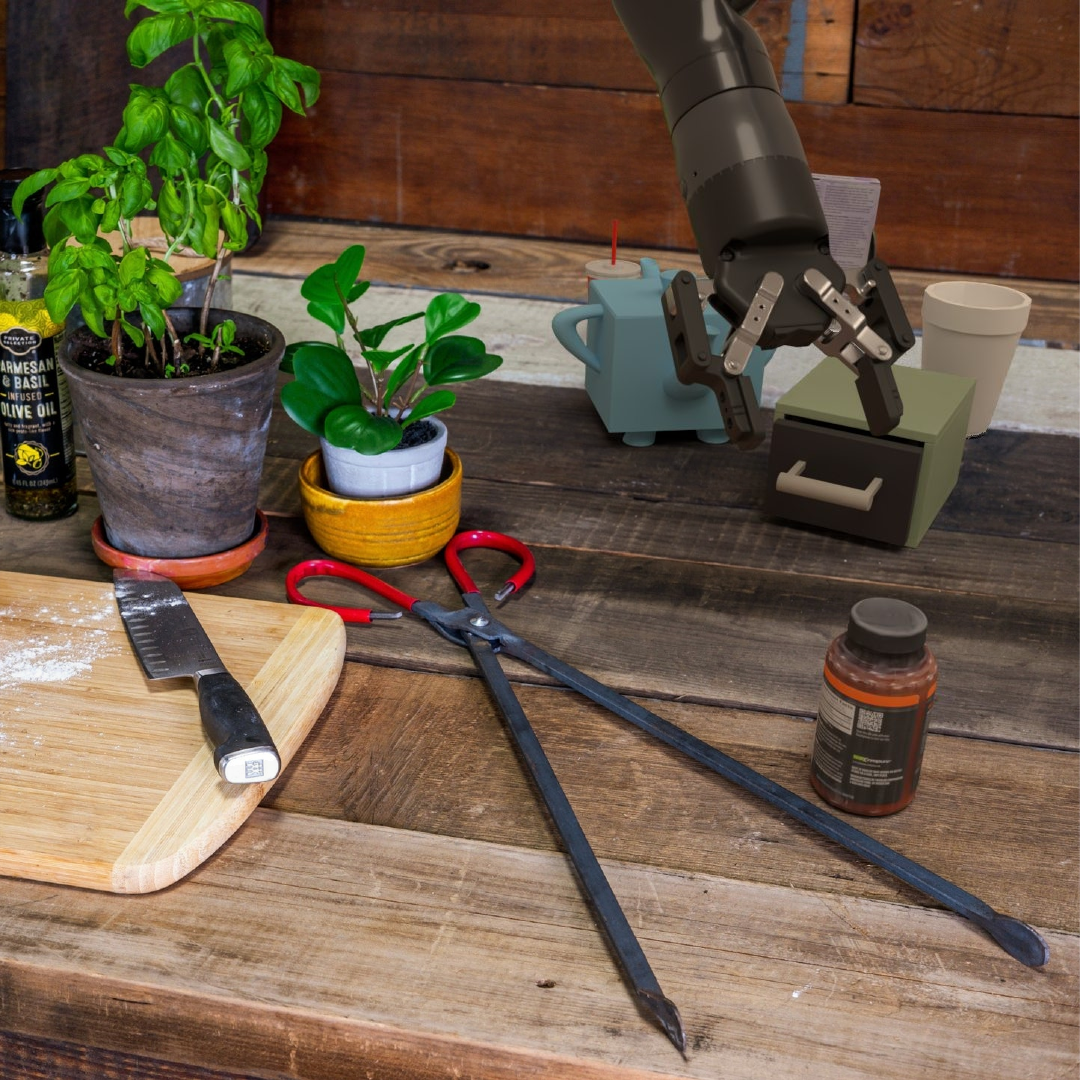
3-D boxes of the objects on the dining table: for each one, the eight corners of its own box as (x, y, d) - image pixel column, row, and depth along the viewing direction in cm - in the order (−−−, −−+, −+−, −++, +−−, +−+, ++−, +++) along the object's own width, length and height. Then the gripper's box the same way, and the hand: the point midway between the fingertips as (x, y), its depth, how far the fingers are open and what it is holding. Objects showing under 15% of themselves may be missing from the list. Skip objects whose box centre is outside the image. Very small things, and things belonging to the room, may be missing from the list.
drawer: (887, 571, 92) (904, 475, 89) (741, 535, 97) (752, 441, 94) (943, 485, 107) (960, 398, 103) (814, 456, 112) (825, 373, 108)
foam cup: (931, 447, 117) (955, 311, 111) (886, 411, 125) (907, 282, 119) (1023, 441, 119) (1052, 307, 113) (973, 407, 127) (998, 280, 121)
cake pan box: (864, 324, 151) (886, 173, 143) (866, 336, 147) (889, 182, 139) (704, 312, 154) (717, 163, 146) (701, 323, 149) (715, 171, 141)
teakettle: (533, 430, 118) (537, 275, 111) (638, 377, 132) (647, 237, 125) (711, 482, 108) (727, 316, 102) (804, 419, 122) (823, 270, 115)
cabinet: (916, 549, 98) (937, 434, 94) (762, 512, 103) (775, 402, 99) (956, 483, 109) (977, 378, 105) (816, 453, 115) (830, 352, 110)
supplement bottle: (888, 751, 74) (920, 583, 69) (933, 816, 69) (970, 640, 64) (792, 759, 73) (816, 590, 68) (830, 826, 68) (860, 647, 63)
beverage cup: (616, 358, 137) (623, 229, 131) (570, 346, 140) (575, 220, 134) (646, 344, 142) (655, 219, 135) (602, 333, 145) (608, 211, 139)
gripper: (658, 154, 69) (734, 423, 65) (881, 146, 73) (966, 398, 69) (617, 229, 76) (682, 477, 72) (823, 217, 80) (896, 450, 76)
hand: (822, 438), depth 70 cm, fingers open, 8 cm apart
